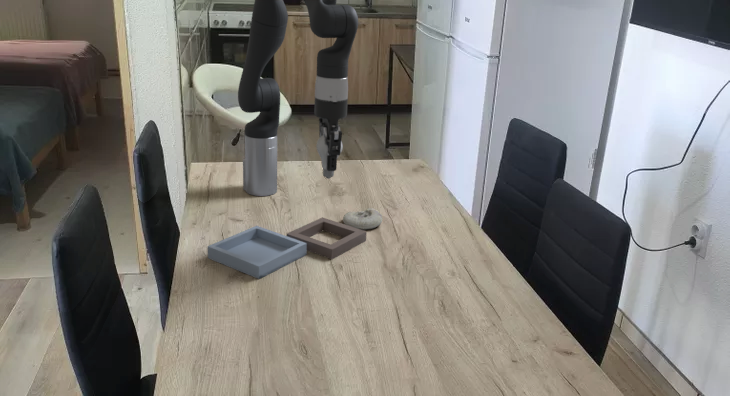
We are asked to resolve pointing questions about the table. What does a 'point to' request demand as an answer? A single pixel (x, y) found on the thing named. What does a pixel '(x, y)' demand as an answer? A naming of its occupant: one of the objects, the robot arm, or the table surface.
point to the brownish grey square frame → (324, 249)
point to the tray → (257, 251)
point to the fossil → (363, 219)
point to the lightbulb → (325, 156)
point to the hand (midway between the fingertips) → (328, 165)
